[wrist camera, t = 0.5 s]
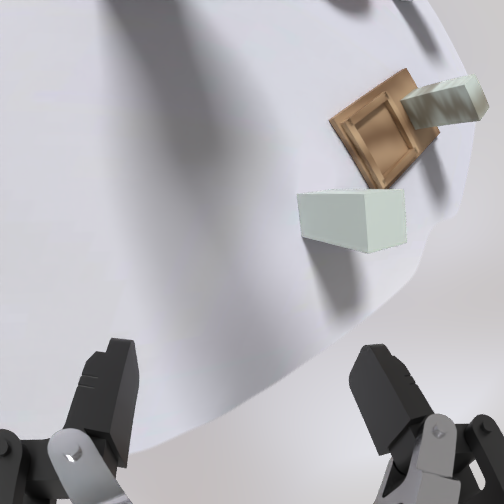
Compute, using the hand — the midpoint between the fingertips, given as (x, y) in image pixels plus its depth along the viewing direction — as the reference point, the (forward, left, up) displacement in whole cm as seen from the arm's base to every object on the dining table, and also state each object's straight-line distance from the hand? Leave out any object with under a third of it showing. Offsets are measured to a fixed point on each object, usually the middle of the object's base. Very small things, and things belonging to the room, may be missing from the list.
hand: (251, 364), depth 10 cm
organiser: (-13, +32, -23) cm, 41 cm away
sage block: (-2, +17, -23) cm, 28 cm away
